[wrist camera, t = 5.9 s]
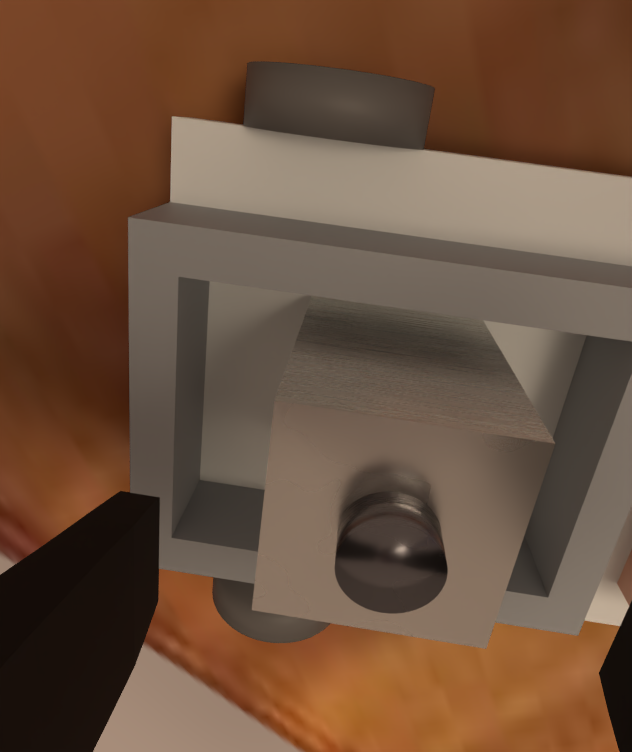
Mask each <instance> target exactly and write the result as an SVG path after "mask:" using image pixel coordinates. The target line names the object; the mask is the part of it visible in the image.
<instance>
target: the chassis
mask: <svg viewBox="0 0 632 752" xmlns="http://www.w3.org/2000/svg"><path fill="white" fill-rule="evenodd" d="M434 91H435V88H434V87H432V86H429V85H426V84H422V83H419V82H414V81H410V80H405V79H400V78H395V77H390V76H384V75H378V74H372V73H366V72H359V71H353V70H346V69H338V68H330V67H322V66H314V65H304V64H294V63H281V62H249V63H247V77H246V92H245V107H244V122H243V124H236V123H228V122H221V121H214V120H206V119H199V118H191V117H175V116H172V137H171V187H170V202H169V203H166V204H163V205H161V206H158V207H155V208H152V209H150V210H147V211H144V212H141V213H138V214H136V215H133V216H130V217H128V281H129V404H130V493H136V494H142V495H148V496H155V497H160V524H159V569H166V570H172V571H178V572H184V573H191V574H197V575H203V576H209V577H213V592H212V593H213V600H214V604H215V606H216V609H217V611H218V612H219V614H220V615H221V617H222V618H223V619H224V620H225V621H226V622H227V624H229V625H230V626H231V627H232V628H234V629H235V630H237V631H238V632H240V633H241V634H244V635H246V636H248V637H250V638H253V639H256V640H260V641H264V642H271V643H290V642H296V641H301V640H304V639H307V638H310V637H312V636H314V635H316V634H318V633H320V632H321V631H322V630H324V629H325V628H326V627H327V626H328V625H329V624H330V623H327V622H321V621H315V620H309V619H303V618H297V617H291V616H285V615H279V614H272V613H266V612H260V611H254V610H252V602H253V593H254V584H255V575H256V566H257V556H258V547H259V538H260V529H261V520H262V510H263V501H264V492H265V483H266V474H267V464H268V455H269V446H270V437H271V428H272V418H273V409H274V400H275V398H276V395H277V392H278V389H279V386H280V384H281V381H282V378H283V375H284V372H285V370H286V367H287V364H288V361H289V358H290V356H291V353H292V350H293V347H294V344H295V342H296V339H297V336H298V333H299V330H300V328H301V325H302V322H303V319H304V316H305V314H306V311H307V308H308V305H309V302H310V300H311V297H312V296H317V297H324V298H331V299H338V300H345V301H352V302H359V303H366V304H373V305H380V306H387V307H394V308H401V309H408V310H415V311H422V312H429V313H436V314H443V315H450V316H457V317H464V318H471V319H478V320H483V321H484V323H485V324H486V326H487V328H488V329H489V331H490V333H491V335H492V336H493V338H494V340H495V341H496V343H497V345H498V346H499V348H500V350H501V352H502V353H503V355H504V357H505V358H506V360H507V362H508V364H509V365H510V367H511V369H512V370H513V372H514V374H515V376H516V377H517V379H518V381H519V382H520V384H521V386H522V387H523V389H524V391H525V393H526V394H527V396H528V398H529V399H530V401H531V403H532V405H533V406H534V408H535V410H536V411H537V413H538V415H539V416H540V418H541V420H542V422H543V423H544V425H545V427H546V428H547V430H548V432H549V434H550V435H551V437H552V439H553V440H554V442H555V446H554V449H553V452H552V455H551V458H550V461H549V464H548V467H547V470H546V473H545V476H544V479H543V482H542V485H541V488H540V491H539V494H538V497H537V500H536V503H535V506H534V509H533V512H532V514H531V517H530V520H529V523H528V526H527V529H526V532H525V535H524V538H523V541H522V544H521V547H520V550H519V553H518V556H517V559H516V562H515V565H514V568H513V571H512V574H511V577H510V580H509V583H508V586H507V588H506V591H505V594H504V597H503V600H502V603H501V606H500V609H499V612H498V615H497V618H496V621H495V622H496V623H502V624H509V625H515V626H521V627H527V628H534V629H540V630H546V631H552V632H559V633H565V634H571V635H577V636H578V634H579V632H580V630H581V627H582V625H583V622H584V620H585V621H591V622H598V623H604V624H610V625H617V626H620V625H621V623H622V621H623V619H624V617H625V614H626V612H627V610H628V608H629V606H630V603H631V601H632V177H630V176H622V175H615V174H608V173H600V172H593V171H585V170H578V169H570V168H563V167H555V166H548V165H541V164H533V163H526V162H518V161H511V160H503V159H496V158H489V157H481V156H474V155H466V154H459V153H451V152H444V151H437V150H429V149H424V145H425V139H426V134H427V129H428V123H429V118H430V112H431V107H432V101H433V96H434Z"/></svg>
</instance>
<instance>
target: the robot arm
mask: <svg viewBox="0 0 632 752" xmlns="http://www.w3.org/2000/svg"><path fill="white" fill-rule="evenodd" d="M159 524H160V497H155V496H148V495H142V494H136V493H129V492H123V491H120V492H118V493H117V494H116V495H114V496H113V497H111V498H110V499H108V500H107V501H105V502H104V503H102V504H101V505H100V506H98V507H97V508H95V509H94V510H92V511H91V512H90V513H88V514H87V515H85V516H84V517H83V518H81V519H80V520H78V521H77V522H76V523H74V524H73V525H71V526H70V527H69V528H67V529H66V530H64V531H63V532H62V533H60V534H59V535H57V536H56V537H55V538H53V539H52V540H50V541H49V542H47V543H46V544H45V545H43V546H42V547H40V548H39V549H37V550H36V551H35V552H33V553H32V554H30V555H29V556H27V557H26V558H24V559H23V560H21V561H20V562H18V563H17V564H15V565H14V566H13V567H11V568H10V569H8V570H7V571H5V572H4V573H2V574H1V575H0V752H93V750H94V748H95V746H96V744H97V742H98V740H99V738H100V736H101V734H102V732H103V730H104V728H105V726H106V724H107V722H108V720H109V718H110V716H111V714H112V712H113V710H114V708H115V706H116V703H117V701H118V699H119V697H120V695H121V693H122V691H123V689H124V687H125V685H126V683H127V681H128V679H129V677H130V675H131V672H132V670H133V668H134V666H135V664H136V661H137V658H138V656H139V653H140V650H141V648H142V645H143V642H144V639H145V637H146V634H147V631H148V628H149V625H150V623H151V620H152V617H153V614H154V611H155V608H156V606H157V603H158V585H159ZM599 675H600V679H601V683H602V687H603V692H604V696H605V700H606V704H607V708H608V712H609V716H610V720H611V723H612V727H613V730H614V734H615V738H616V741H617V745H618V748H619V751H620V752H632V601H631V603H630V606H629V608H628V610H627V612H626V614H625V617H624V619H623V621H622V623H621V625H620V628H619V630H618V632H617V634H616V637H615V639H614V641H613V643H612V645H611V648H610V650H609V652H608V654H607V656H606V659H605V661H604V663H603V665H602V667H601V670H600V672H599Z"/></svg>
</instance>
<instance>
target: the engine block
mask: <svg viewBox="0 0 632 752" xmlns="http://www.w3.org/2000/svg"><path fill="white" fill-rule="evenodd" d="M554 446H555V442H554V440H553V439H552V437H551V435H550V434H549V432H548V430H547V428H546V427H545V425H544V423H543V422H542V420H541V418H540V416H539V415H538V413H537V411H536V410H535V408H534V406H533V405H532V403H531V401H530V399H529V398H528V396H527V394H526V393H525V391H524V389H523V387H522V386H521V384H520V382H519V381H518V379H517V377H516V376H515V374H514V372H513V370H512V369H511V367H510V365H509V364H508V362H507V360H506V358H505V357H504V355H503V353H502V352H501V350H500V348H499V346H498V345H497V343H496V341H495V340H494V338H493V336H492V335H491V333H490V331H489V329H488V328H487V326H486V324H485V323H484V321H483V320H478V319H471V318H464V317H457V316H450V315H443V314H436V313H429V312H422V311H415V310H408V309H401V308H394V307H387V306H380V305H373V304H366V303H359V302H352V301H345V300H338V299H331V298H324V297H317V296H312V297H311V300H310V302H309V305H308V308H307V311H306V314H305V316H304V319H303V322H302V325H301V328H300V330H299V333H298V336H297V339H296V342H295V344H294V347H293V350H292V353H291V356H290V358H289V361H288V364H287V367H286V370H285V372H284V375H283V378H282V381H281V384H280V386H279V389H278V392H277V395H276V398H275V400H274V409H273V418H272V428H271V437H270V446H269V455H268V464H267V474H266V483H265V492H264V501H263V510H262V520H261V529H260V538H259V547H258V556H257V566H256V575H255V584H254V593H253V602H252V610H254V611H260V612H266V613H272V614H279V615H285V616H291V617H297V618H303V619H309V620H315V621H321V622H327V623H333V624H339V625H345V626H351V627H357V628H363V629H370V630H376V631H382V632H388V633H394V634H400V635H406V636H412V637H418V638H424V639H430V640H436V641H442V642H448V643H454V644H461V645H467V646H473V647H479V648H485V649H486V648H487V645H488V642H489V639H490V636H491V633H492V630H493V627H494V624H495V621H496V618H497V615H498V612H499V609H500V606H501V603H502V600H503V597H504V594H505V591H506V588H507V586H508V583H509V580H510V577H511V574H512V571H513V568H514V565H515V562H516V559H517V556H518V553H519V550H520V547H521V544H522V541H523V538H524V535H525V532H526V529H527V526H528V523H529V520H530V517H531V514H532V512H533V509H534V506H535V503H536V500H537V497H538V494H539V491H540V488H541V485H542V482H543V479H544V476H545V473H546V470H547V467H548V464H549V461H550V458H551V455H552V452H553V449H554Z"/></svg>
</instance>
